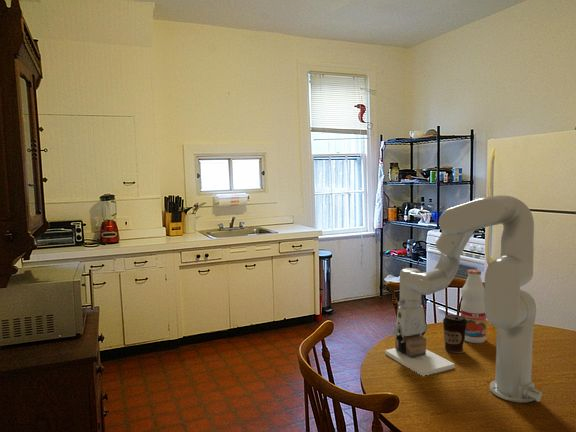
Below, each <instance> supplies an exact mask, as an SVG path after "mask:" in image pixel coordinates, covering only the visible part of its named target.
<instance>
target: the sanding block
mask: <svg viewBox="0 0 576 432" xmlns="http://www.w3.org/2000/svg"><path fill="white" fill-rule="evenodd" d="M398 335H399V333H398ZM402 336H403V335H402ZM402 336H401V338H402ZM394 339H395V345H394V348H395V349H397V350H398V351H399V348H398V345H399V341H397V339H396V338H395V337H394ZM404 342H405V343H406V353H405V355H407V356H409V357H410V358H414V357H418V356H423V355H426V349H427V338H425V337H424V336H423V337H422V336H420V335H418V334H416V335H412V336H406V338H405V341H404Z"/></svg>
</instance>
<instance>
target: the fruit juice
mask: <svg viewBox="0 0 576 432" xmlns="http://www.w3.org/2000/svg"><path fill="white" fill-rule="evenodd" d="M467 275H468V276H467V278H466V280H465V283H464V284H463V286H462V288H461V297H462V300H461V303H460V316H463V317H465V320H466V321H467V325H466V330H465V340H464V342H467V343H472V344H481V343H484V342H485V341H486V336H487V318H486V315H485V311H484V286H485V285H484V284H483V281H482V279H481V276H482V271H481V270H480V269H474V268H472V269H467Z"/></svg>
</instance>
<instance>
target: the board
mask: <svg viewBox="0 0 576 432" xmlns="http://www.w3.org/2000/svg"><path fill="white" fill-rule="evenodd" d="M384 354H385V356H388V357H389V358H391V359H393V360H394V361H396V362H398V363H399V364H401V365H403V366H405V368H407V369H409V368H410V370H411V371H413V372H414V371H415V373H416V372H417V373H416V374H417V375H419V374H420V375H419V376H421V375H422V376H421V377H426V376H425V375H427V376H430V374H431V375H434V374H437V373H441V372H445V371H449V370H452V369H453V370H454V369H455V368H456V367H455V363H454V362H452V361H449V360H448V359H446V358H444V357H442V356H440V355H438V354H437V353H434V352H432V351H430V349H429V350H428V349H427V348H426V355H423V356H418V357H414V358H410V357H409V356H407V355H405V354H403V353H402V352H400V351H398V350H397V349H395V347H394V348H389V349H385V350H384ZM433 373H434V374H433Z"/></svg>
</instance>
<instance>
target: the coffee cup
mask: <svg viewBox="0 0 576 432" xmlns="http://www.w3.org/2000/svg"><path fill="white" fill-rule="evenodd" d="M442 325H443V339H444V340H443V341H444V349H445V351H447V352H450V353H453V354H462V353H463V352H464V348H463V347H464V342H465V341H464V340H465V330H466V325H467V321H466V320H465V317H463V316H461V314H445V317H444V318H443V320H442Z"/></svg>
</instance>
